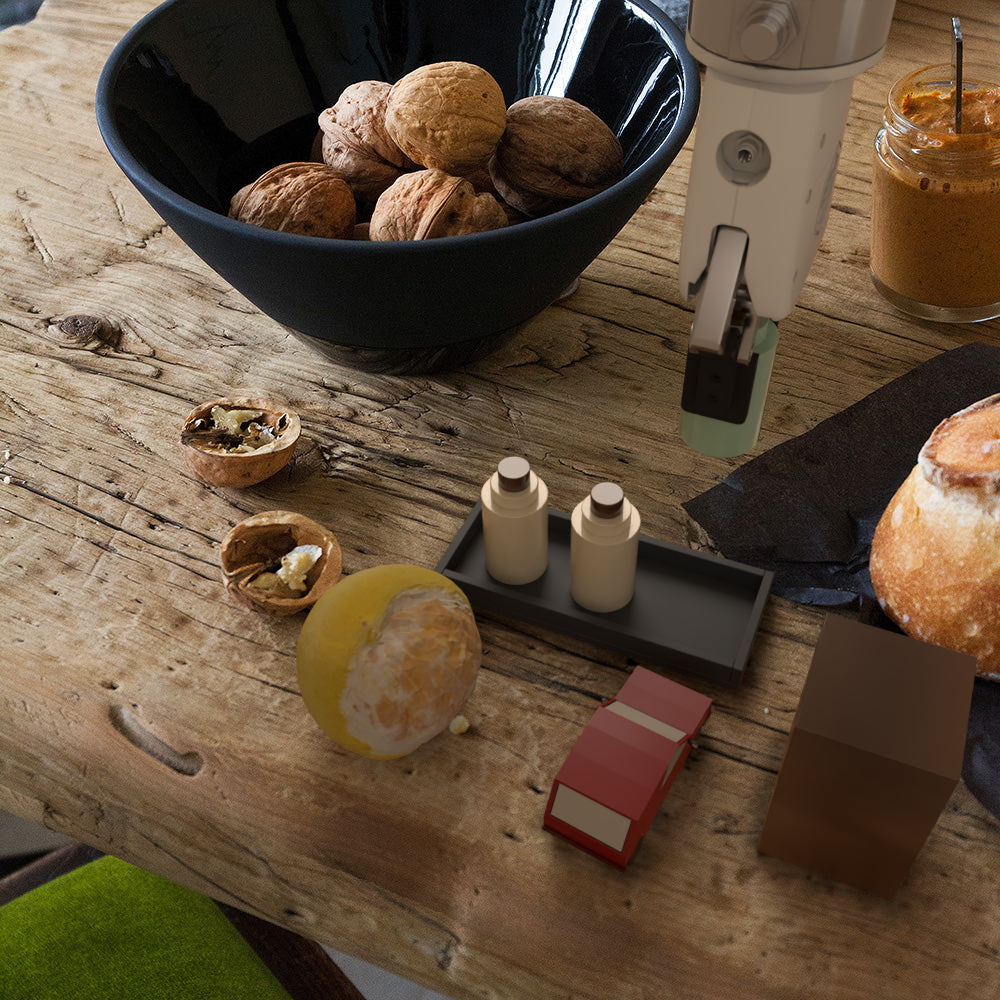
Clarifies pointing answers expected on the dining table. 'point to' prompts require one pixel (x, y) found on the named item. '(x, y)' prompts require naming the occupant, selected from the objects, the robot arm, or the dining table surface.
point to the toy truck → (625, 767)
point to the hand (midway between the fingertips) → (727, 381)
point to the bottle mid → (604, 549)
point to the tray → (631, 601)
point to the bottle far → (515, 523)
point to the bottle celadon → (742, 438)
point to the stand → (869, 755)
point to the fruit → (388, 659)
